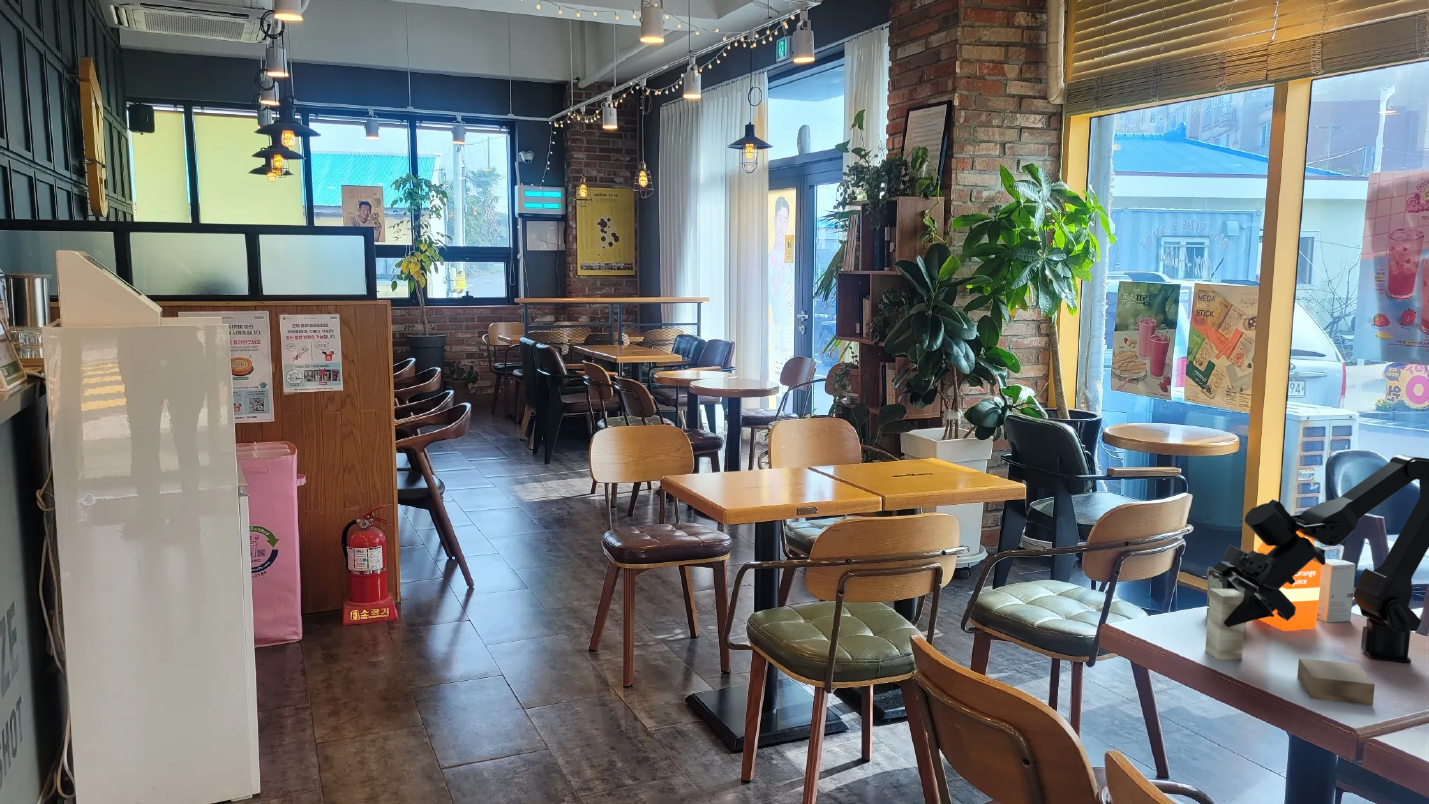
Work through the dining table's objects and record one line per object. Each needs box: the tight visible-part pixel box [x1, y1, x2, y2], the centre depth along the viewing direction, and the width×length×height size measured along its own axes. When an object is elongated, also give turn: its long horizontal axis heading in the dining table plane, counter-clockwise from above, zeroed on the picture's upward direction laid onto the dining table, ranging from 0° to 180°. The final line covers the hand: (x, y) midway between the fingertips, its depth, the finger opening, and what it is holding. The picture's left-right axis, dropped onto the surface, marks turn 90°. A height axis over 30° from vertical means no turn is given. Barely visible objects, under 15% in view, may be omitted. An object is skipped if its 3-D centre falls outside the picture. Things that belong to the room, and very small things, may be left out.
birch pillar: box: [1204, 589, 1246, 661], centre depth 185 cm, size 4×4×12 cm
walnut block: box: [1296, 657, 1376, 707], centre depth 170 cm, size 9×9×4 cm
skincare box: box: [1316, 558, 1356, 623], centre depth 206 cm, size 6×4×12 cm
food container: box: [1206, 566, 1251, 624], centre depth 203 cm, size 12×6×10 cm, turn 179°
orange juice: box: [1256, 531, 1321, 632], centre depth 203 cm, size 8×9×20 cm
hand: (1218, 620), depth 185 cm, fingers closed on birch pillar, 4 cm apart
